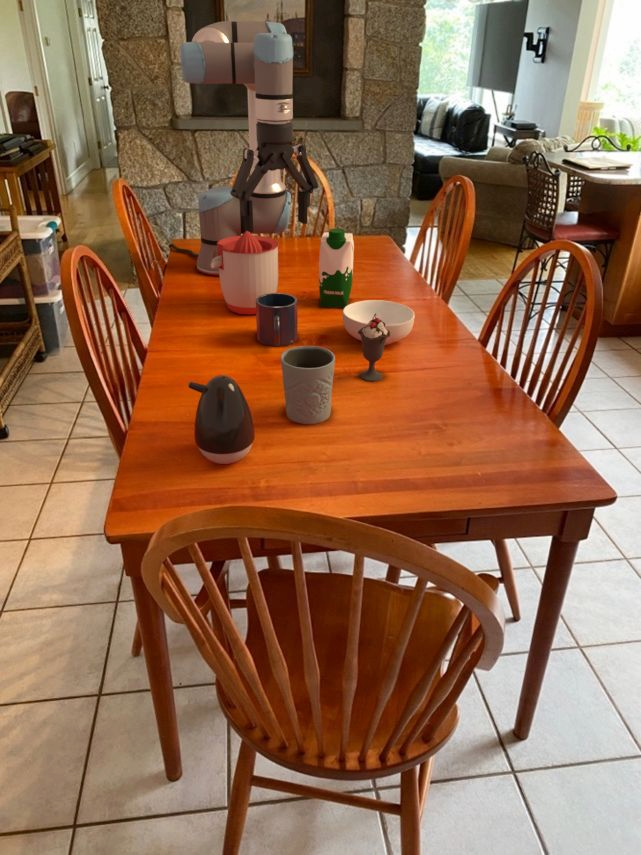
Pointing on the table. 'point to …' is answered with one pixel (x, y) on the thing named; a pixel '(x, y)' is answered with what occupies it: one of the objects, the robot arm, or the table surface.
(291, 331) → the mug
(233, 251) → the citrus juicer
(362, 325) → the cereal bowl
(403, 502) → the table surface
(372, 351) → the sundae
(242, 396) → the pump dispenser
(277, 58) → the robot arm
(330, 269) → the milk carton
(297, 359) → the grey embossed cup
